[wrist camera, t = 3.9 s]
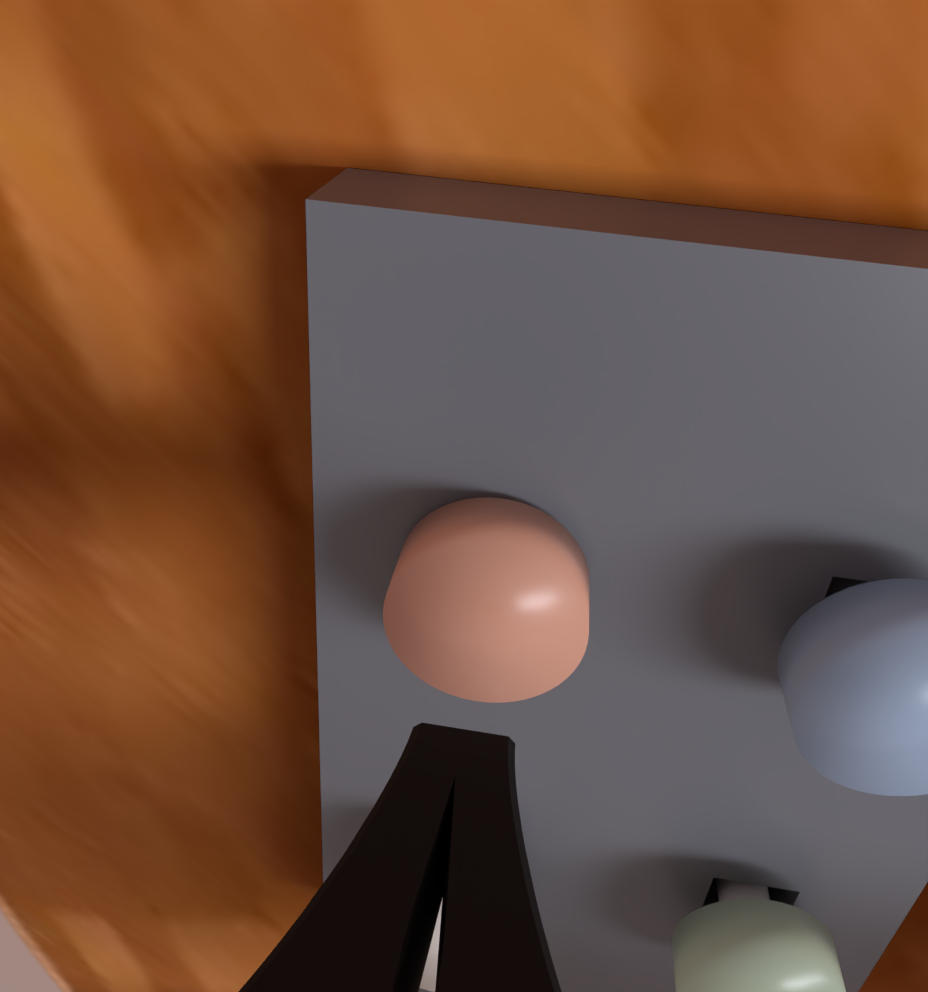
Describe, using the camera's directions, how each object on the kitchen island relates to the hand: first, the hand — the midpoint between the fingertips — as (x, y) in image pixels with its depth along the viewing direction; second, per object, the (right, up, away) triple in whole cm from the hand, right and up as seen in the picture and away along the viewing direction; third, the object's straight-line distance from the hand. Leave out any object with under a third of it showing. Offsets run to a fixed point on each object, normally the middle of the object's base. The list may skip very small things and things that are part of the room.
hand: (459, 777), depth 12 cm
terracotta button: (+1, +4, +6) cm, 7 cm away
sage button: (+7, -5, +9) cm, 13 cm away
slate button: (+8, +2, +5) cm, 9 cm away
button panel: (+4, 0, +8) cm, 9 cm away
